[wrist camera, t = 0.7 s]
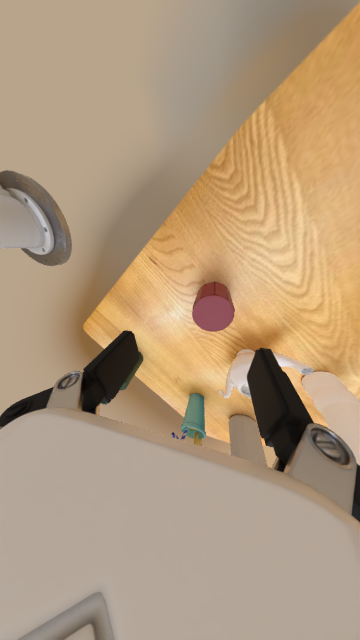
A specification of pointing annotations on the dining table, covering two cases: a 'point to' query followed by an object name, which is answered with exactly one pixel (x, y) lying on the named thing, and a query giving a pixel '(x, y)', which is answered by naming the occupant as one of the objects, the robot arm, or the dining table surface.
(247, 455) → the jar
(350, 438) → the water bottle
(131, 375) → the green bottle
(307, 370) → the teapot
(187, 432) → the cup
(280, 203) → the dining table surface
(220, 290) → the grooved red cylinder
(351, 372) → the dining table surface
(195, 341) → the dining table surface
